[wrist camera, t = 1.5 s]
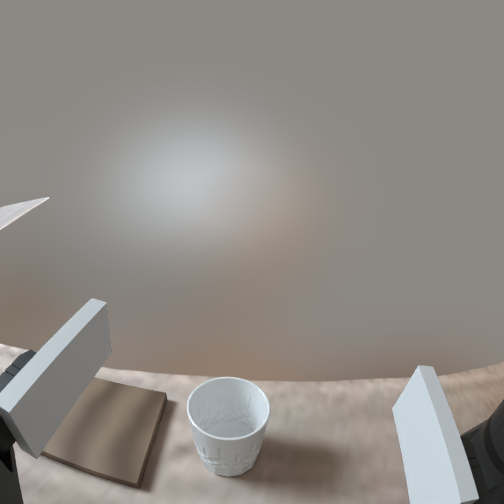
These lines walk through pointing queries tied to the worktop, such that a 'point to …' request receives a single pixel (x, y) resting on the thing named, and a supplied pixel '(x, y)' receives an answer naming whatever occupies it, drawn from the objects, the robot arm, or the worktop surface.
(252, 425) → the white cup
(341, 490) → the worktop surface
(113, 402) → the board
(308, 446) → the worktop surface
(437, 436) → the robot arm
